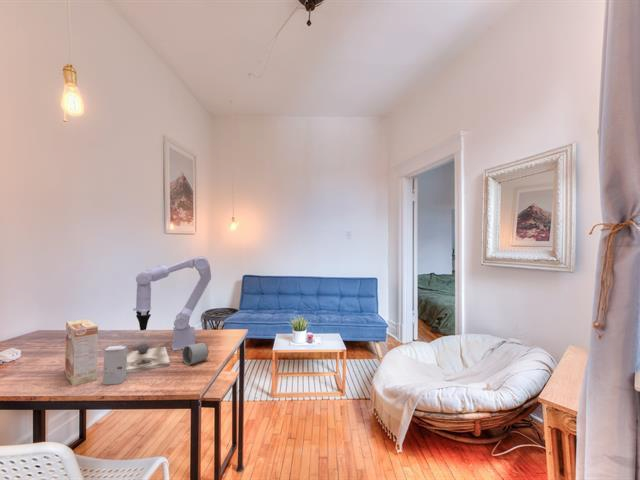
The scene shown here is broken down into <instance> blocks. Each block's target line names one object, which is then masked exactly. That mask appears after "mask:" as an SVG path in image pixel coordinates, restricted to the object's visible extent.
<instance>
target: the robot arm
mask: <svg viewBox="0 0 640 480" xmlns="http://www.w3.org/2000/svg"><path fill="white" fill-rule="evenodd" d="M186 268H189V269H194V268H195V269H196V271H197V272H198V274H199V277H200V278H199V279H198V282H197V283H196V285H195V287H194V289H193V290H192V293H191V294H190V295H189V298H188V300H187V301H186V303H185V304H184V306H183V308H182V309H181V311H180V312H179V313H178V314H176V316H175V319H174V321H173V326H174V327H173V331H172V334H173V335H172V336H173V338H172V339H173V343H172V344H171V349H172V351H179V350H183V349H184V347H185V346H187V345H193V344H196V328H195V326H190V325H189V323H190V320H191V319H190V318H191V316H192V315H193V313H194V310H195V308H196V306H197V305H198V303H199V301H200V299H201V297H202V295H203V294H204V292H205V290H206V288H207V287H208V285H209V283H210V281H211V280H212V279H211V278H212V271H211V265H210V263H209V260H208V259H207V257H204V256H198V257H197V258H196V257H192V258H188V259H185V260H183V261H180V262H177V263H174V264H171V265H169V266H167V265H166V266H165V265H164V264H163V265H161V264H160V265H157V267H155V268H151V269H146V271H142V272H140V273H138V274H137V275H136V277H135V282H136V283H137V284H136V304H135V305H136V306H135V307H134V308H132V310H133V311H136V318H137V320H138V325H139V330H140V331H146V330H147V327H148V322H149V320H150V317H151V315H152V314H151V313H150V312H151V309H152V307H151V303H152V302H151V301H152V300H151V299H152V284H151V283H152V282H153V283H154V282H157V281H160V280H162V279H163V280H164V279H165V278H168V277H169V275H170V274H171V273H174V272H177V271H180V270H183V269H186Z"/></svg>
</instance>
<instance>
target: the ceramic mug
mask: <svg viewBox="0 0 640 480" xmlns="http://www.w3.org/2000/svg"><path fill="white" fill-rule="evenodd" d="M209 350H210V349H209V347H208V345H207V344H206V343H204V342H199V343H195V344H193V345H187V346H185V347H184V349H182V351H181V352H182V353H181V354H182V356H181V357H182V360H183V363H184V364H185V365H186V366H191V365H194V364H196V363H200V362H202V361H205V360H206V359H207V358H208V356H209V352H210V351H209Z"/></svg>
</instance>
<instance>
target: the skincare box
mask: <svg viewBox="0 0 640 480" xmlns="http://www.w3.org/2000/svg"><path fill="white" fill-rule="evenodd" d="M128 347H129V346H128V345H109V346H108V347H106V348H105V349H104V353H103V355H104V356H103V369H102V370H103V371H102V385H103V386H104V385H106V386H107V385H120V384H122V383H123V382H124V381H126V379H127V374H126V366H127V352H128Z"/></svg>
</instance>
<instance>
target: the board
mask: <svg viewBox="0 0 640 480" xmlns="http://www.w3.org/2000/svg"><path fill="white" fill-rule="evenodd" d="M166 348H167V347H166V346H159V347H153V348H151V347H150V348H148V350H147V352H145V353H139V352H138V349H137V350H132V351H127V366H126V375H127V374H131V373H132V374H133V373H137V372H143V371H150V370H154V369H161V368H165V367H166V368H167V367H170V366H171V363H170V362H171V361H170V358H169V355H168V354H169V353H168V352H167V349H166Z"/></svg>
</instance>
